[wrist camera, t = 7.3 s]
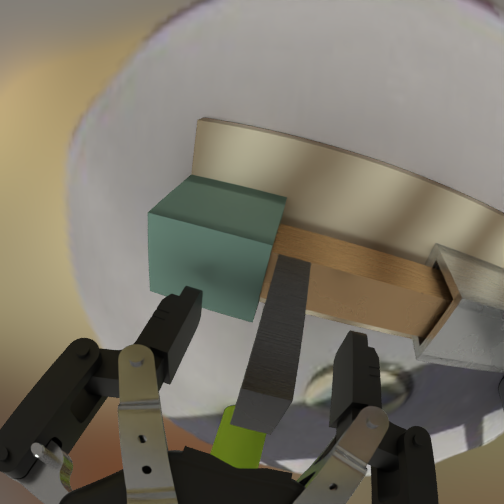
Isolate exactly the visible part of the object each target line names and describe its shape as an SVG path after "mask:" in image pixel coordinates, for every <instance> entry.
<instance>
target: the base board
mask: <svg viewBox="0 0 504 504" xmlns="http://www.w3.org/2000/svg"><path fill="white" fill-rule="evenodd" d="M192 175H196V176H200V177H205V178H209V179H214V180H218V181H223V182H227V183H231V184H236V185H240V186H244V187H248V188H252V189H256V190H260V191H264V192H268V193H272V194H276V195H280V196H284V197H287V200H286V204H285V208H284V212H283V216H282V220H281V224H284V225H288V226H292V227H295V228H299V229H303V230H306V231H310V232H314V233H317V234H321V235H324V236H328V237H332V238H335V239H339V240H342V241H346V242H349V243H353V244H356V245H359V246H363V247H366V248H370V249H373V250H376V251H380V252H383V253H386V254H390V255H393V256H396V257H400V258H403V259H406V260H409V261H413V262H416V263H419V264H422V265H424V264H425V262H426V260H427V258H428V256H429V254H430V252H431V250H432V249H433V247H434V245H435V243H438V244H441V245H444V246H446V247H449V248H452V249H455V250H457V251H460V252H463V253H466V254H468V255H471V256H474V257H476V258H479V259H481V260H484V261H487V262H489V263H492V264H494V265H497V266H499V267H502V268H504V213H502V212H500V211H498V210H496V209H494V208H492V207H490V206H488V205H486V204H484V203H482V202H480V201H478V200H476V199H474V198H471V197H469V196H467V195H465V194H463V193H460V192H458V191H456V190H454V189H451V188H449V187H447V186H444V185H442V184H440V183H437V182H435V181H432V180H430V179H427V178H425V177H422V176H420V175H417V174H414V173H412V172H409V171H407V170H404V169H401V168H398V167H396V166H393V165H390V164H387V163H384V162H381V161H378V160H375V159H372V158H369V157H366V156H363V155H360V154H357V153H354V152H351V151H347V150H344V149H341V148H337V147H334V146H330V145H327V144H323V143H320V142H316V141H312V140H308V139H305V138H301V137H297V136H293V135H289V134H284V133H280V132H276V131H272V130H267V129H262V128H258V127H253V126H248V125H243V124H238V123H233V122H227V121H222V120H216V119H210V118H201V119H199V120H198V121H197V129H196V138H195V146H194V155H193V165H192ZM259 301H260V302H263V303H265V302H266V299H264V298H261V297H260V300H259ZM305 314H309V315H312V316H316V317H320V318H324V319H328V320H332V321H337V322H341V323H345V324H349V325H353V326H357V327H362V328H366V329H370V330H374V331H379V332H383V333H388V334H392V335H397V336H401V337H406V338H411V339H412V335H410V334H406V333H401V332H397V331H392V330H388V329H383V328H379V327H375V326H371V325H366V324H362V323H358V322H354V321H350V320H345V319H341V318H337V317H333V316H329V315H325V314H321V313H317V312H314V311H310V310H306V312H305Z"/></svg>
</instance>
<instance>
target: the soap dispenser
mask: <svg viewBox="0 0 504 504" xmlns="http://www.w3.org/2000/svg"><path fill="white" fill-rule="evenodd" d="M235 406H236V405H234V406H229V407H227V408H226V409H225V411H224V414H223V417H222V420H221V423H220V426H219V429H218V432H217V435H216V438H215V441H214V444H213V447H212V450H211V453H210V454H211V455H213V456H215V457H217V458H219V459H220V460H222V461H224V462H226V463H228V464H230V465H232V466H233V467H236V468H258V466H259V462H260V458H261V454H262V450H263V445H264V441H265V437H266V433H262V432H257V431H253V430H249V429H245V428H242V427H238V426H234V425H231V424H230V422H231V419H232V415H233V412H234V409H235Z"/></svg>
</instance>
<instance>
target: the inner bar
mask: <svg viewBox="0 0 504 504" xmlns="http://www.w3.org/2000/svg"><path fill="white" fill-rule="evenodd" d="M260 297H261V298H264V299H266V302H265V305H264V309H263V313H262V316H261V320H260V323H259V327H258V330H257V334H256V337H255V341H254V344H253V348H252V351H251V355H250V358H249V362H248V365H247V369H246V372H245V375H244V379H243V382H242V386H241V389H240V392H239V396H238V399H237V402H236V406H235V409H234V412H233V415H232V419H231V422H230V424H231V425H234V426H238V427H242V428H245V429H249V430H253V431H257V432H262V433H266V434H270V435H271V433H272V432H273V430H274V429H275V427H276V426H277V424H278V423H279V421H280V420H281V418H282V417H283V415H284V414H285V412H286V410H287V409H288V407H289V406H290V404H291V403H292V401H293V395H294V389H295V382H296V376H297V370H298V363H299V356H300V349H301V342H302V335H303V327H304V320H305V312H306V310H310V311H314V312H317V313H321V314H325V315H329V316H333V317H337V318H341V319H345V320H350V321H354V322H358V323H362V324H366V325H371V326H375V327H379V328H383V329H388V330H392V331H397V332H401V333H406V334H410V335H415V336H419V337H424V338H427V336H428V335H429V334H430V332H431V331H432V330H433V328H434V327H435V326H436V324H437V323H438V321H439V320H440V319H441V317H442V316H443V314H444V313H445V311H446V310H447V309H448V307H449V306H450V304H451V303H452V301H453V297H452V295H451V292H450V290H449V287H448V285H447V283H446V280H445V278H444V276H443V274H442V271H441V270H438V269H435V268H432V267H429V266H426V265H422V264H419V263H416V262H413V261H409V260H406V259H403V258H400V257H396V256H393V255H390V254H386V253H383V252H380V251H376V250H373V249H370V248H366V247H363V246H359V245H356V244H353V243H349V242H346V241H342V240H339V239H335V238H332V237H328V236H324V235H321V234H317V233H314V232H310V231H306V230H303V229H299V228H295V227H292V226H288V225H284V224H279V227H278V231H277V234H276V237H275V241H274V244H273V247H272V251H271V254H270V258H269V262H268V266H267V270H266V274H265V278H264V282H263V286H262V290H261V293H260Z"/></svg>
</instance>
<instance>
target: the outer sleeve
mask: <svg viewBox="0 0 504 504" xmlns="http://www.w3.org/2000/svg"><path fill="white" fill-rule="evenodd" d="M424 265H426V266H429V267H432V268H435V269H438V270H441V271H442V274H443V276H444V278H445V280H446V283H447V285H448V287H449V290H450V292H451V295H452V297H453V301H452V303H451V304H450V306H449V307H448V309H447V310H446V311H445V313H444V314H443V316H442V317H441V319H440V320H439V321H438V323H437V324H436V326H435V327H434V328H433V330H432V331H431V332H430V334H429V335H428V336H427V338H424V337H419V336H415V335H412V340H413V345H414V350H415V356H416V360H418V361H424V362H430V363H436V364H442V365H448V366H455V367H462V368H469V369H476V370H483V371H491V372H500V373H504V268H502V267H499V266H497V265H494V264H492V263H489V262H487V261H484V260H481V259H479V258H476V257H474V256H471V255H468V254H466V253H463V252H460V251H457V250H455V249H452V248H449V247H446V246H444V245H441V244H438V243H435V245H434V247H433V249H432V250H431V252H430V254H429V256H428V258H427V260H426V262H425V264H424Z"/></svg>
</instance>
